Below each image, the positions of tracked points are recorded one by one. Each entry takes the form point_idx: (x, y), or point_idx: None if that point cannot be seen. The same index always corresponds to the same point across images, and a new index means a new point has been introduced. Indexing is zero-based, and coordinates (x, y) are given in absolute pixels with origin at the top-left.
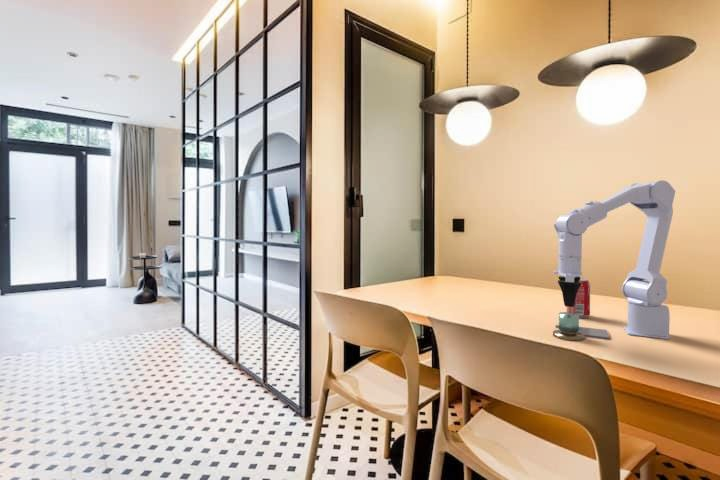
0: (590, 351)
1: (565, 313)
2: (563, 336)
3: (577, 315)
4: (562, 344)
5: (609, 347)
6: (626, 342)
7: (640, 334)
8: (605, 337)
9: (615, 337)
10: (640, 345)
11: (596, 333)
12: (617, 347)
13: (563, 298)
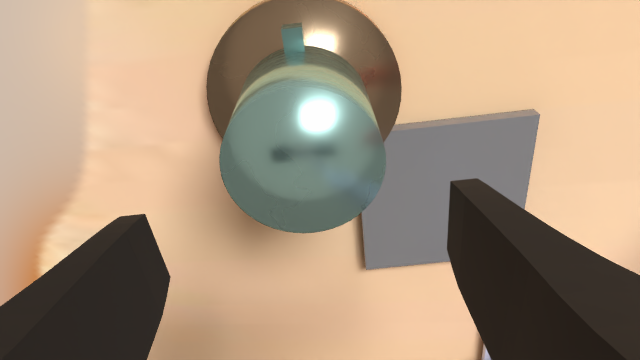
0: (101, 209)
1: (321, 139)
2: (216, 79)
3: (298, 225)
4: (108, 81)
5: (231, 265)
6: (358, 310)
7: (486, 352)
8: (365, 254)
9: (421, 278)
10: (342, 343)
11: (414, 221)
12: (255, 288)
13: (46, 272)
